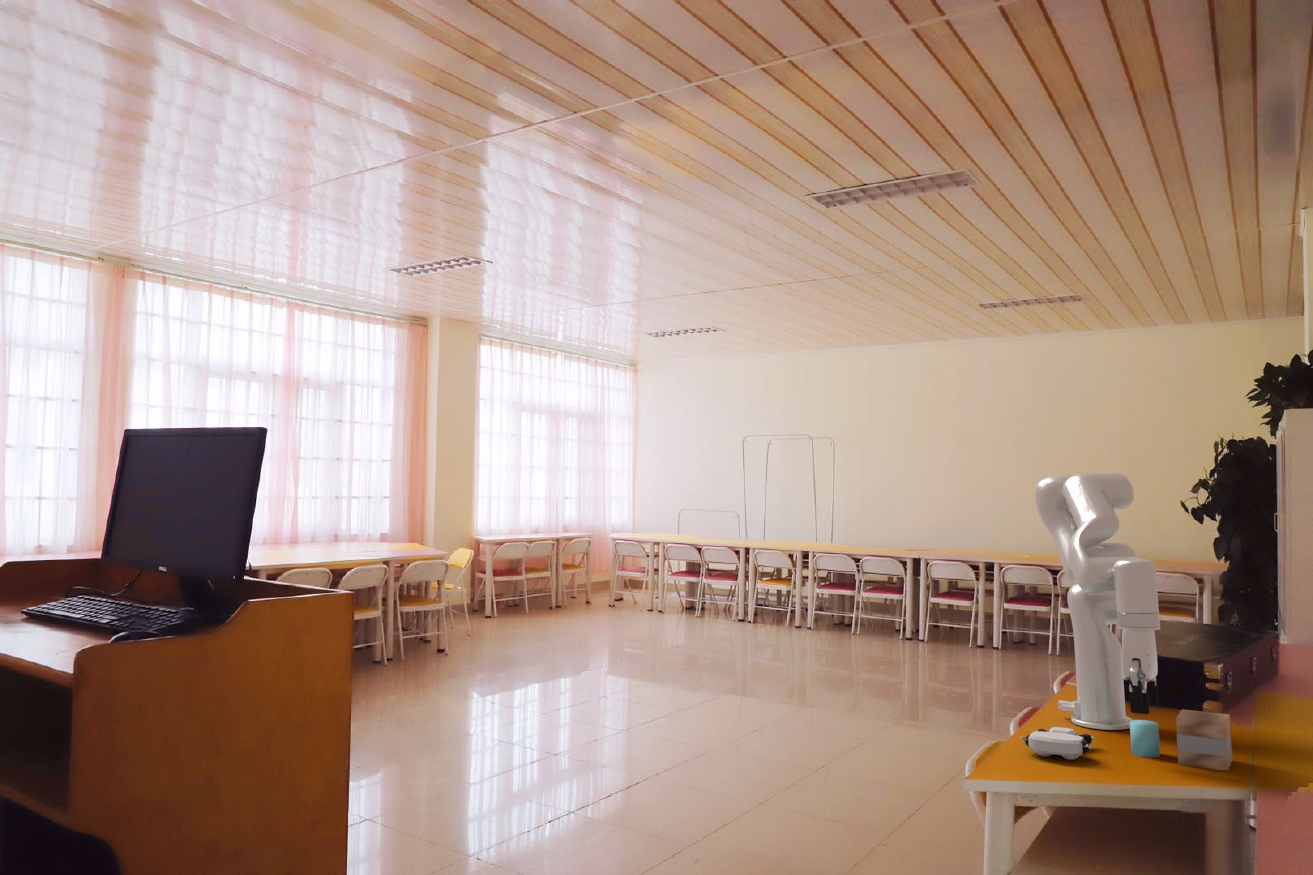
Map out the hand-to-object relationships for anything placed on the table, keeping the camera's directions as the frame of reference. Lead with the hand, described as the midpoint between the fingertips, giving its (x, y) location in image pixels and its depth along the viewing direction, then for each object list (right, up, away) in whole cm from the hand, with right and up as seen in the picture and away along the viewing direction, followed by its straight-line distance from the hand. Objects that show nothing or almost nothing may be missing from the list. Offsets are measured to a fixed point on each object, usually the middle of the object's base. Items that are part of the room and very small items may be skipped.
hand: (1144, 709), depth 177 cm
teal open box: (0, -9, 0) cm, 9 cm away
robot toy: (-16, -10, +3) cm, 19 cm away
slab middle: (+8, -6, -6) cm, 12 cm away
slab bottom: (+8, -9, -6) cm, 13 cm away
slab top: (+8, -3, -6) cm, 10 cm away
